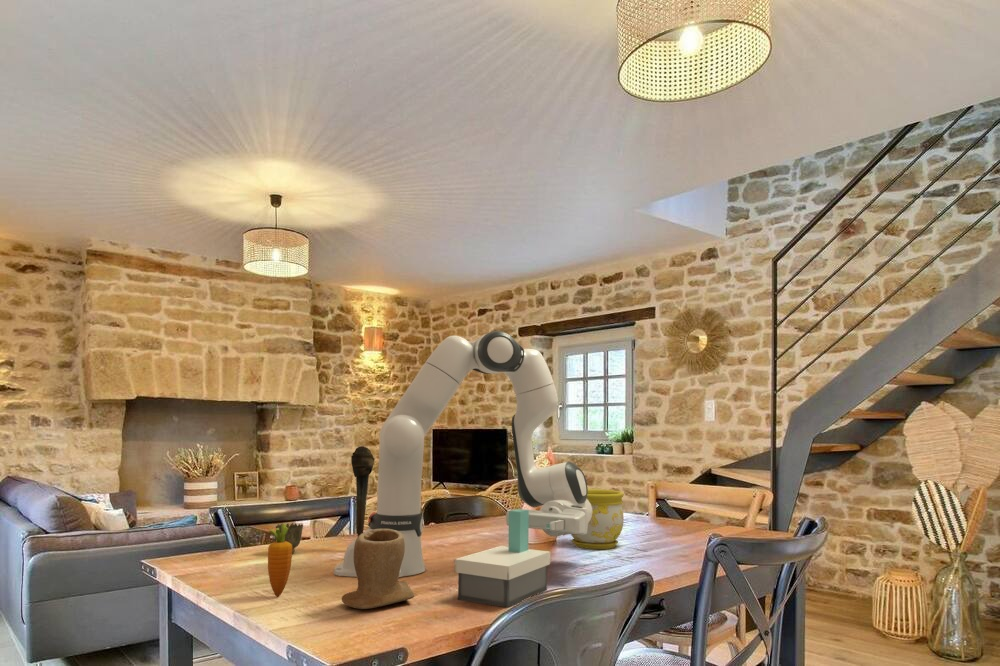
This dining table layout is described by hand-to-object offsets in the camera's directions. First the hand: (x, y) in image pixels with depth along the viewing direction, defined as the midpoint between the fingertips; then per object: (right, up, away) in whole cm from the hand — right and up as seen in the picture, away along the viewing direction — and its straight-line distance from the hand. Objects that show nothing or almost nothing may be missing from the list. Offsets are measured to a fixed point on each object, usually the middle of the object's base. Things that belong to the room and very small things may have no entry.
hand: (531, 524), depth 160 cm
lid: (-7, -6, -12) cm, 15 cm away
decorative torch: (-48, -18, +34) cm, 62 cm away
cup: (-67, -17, +29) cm, 75 cm away
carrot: (-55, -11, -17) cm, 58 cm away
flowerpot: (+22, -21, +48) cm, 57 cm away
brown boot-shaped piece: (-32, -10, -23) cm, 40 cm away
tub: (-7, -12, -13) cm, 19 cm away
